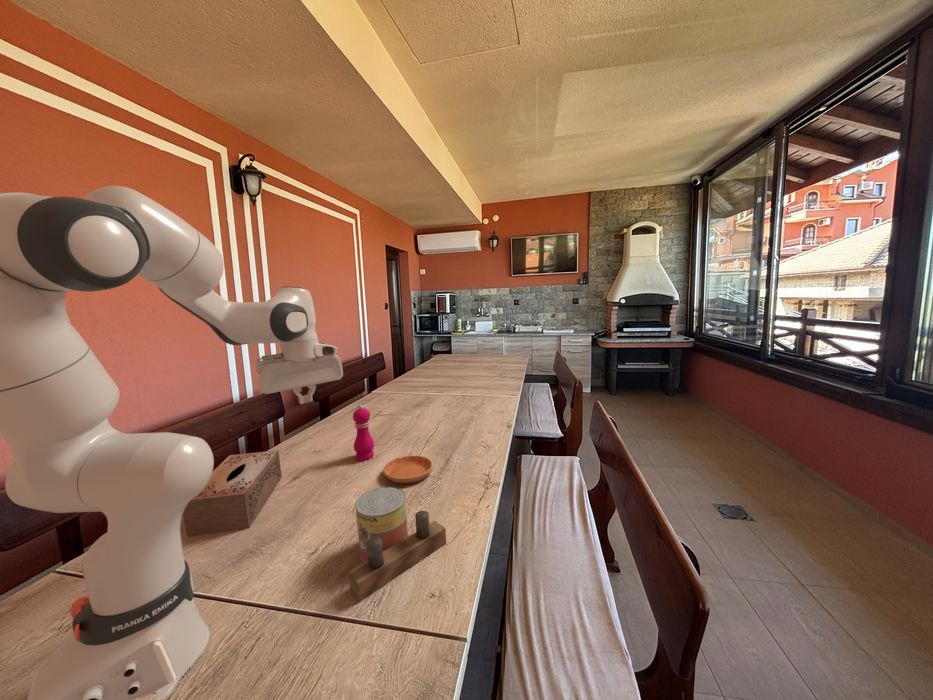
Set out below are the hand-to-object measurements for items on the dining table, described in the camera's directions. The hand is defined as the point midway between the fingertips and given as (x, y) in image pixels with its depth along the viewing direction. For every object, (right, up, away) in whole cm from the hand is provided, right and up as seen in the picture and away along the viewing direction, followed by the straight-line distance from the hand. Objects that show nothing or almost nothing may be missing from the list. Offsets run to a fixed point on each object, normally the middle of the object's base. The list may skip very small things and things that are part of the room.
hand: (306, 402), depth 93 cm
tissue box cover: (-23, -31, +10) cm, 40 cm away
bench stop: (+28, -33, -16) cm, 46 cm away
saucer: (+23, -28, +23) cm, 43 cm away
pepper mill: (+5, -26, +36) cm, 45 cm away
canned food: (+23, -33, -10) cm, 41 cm away
